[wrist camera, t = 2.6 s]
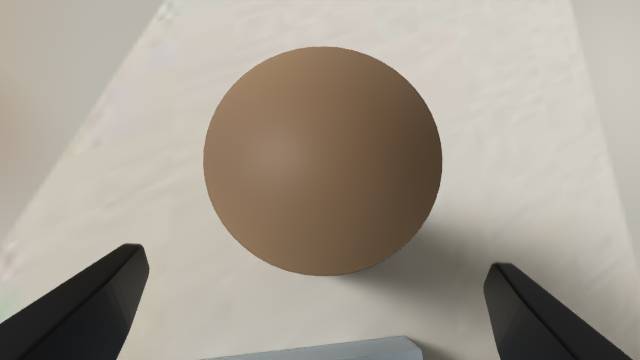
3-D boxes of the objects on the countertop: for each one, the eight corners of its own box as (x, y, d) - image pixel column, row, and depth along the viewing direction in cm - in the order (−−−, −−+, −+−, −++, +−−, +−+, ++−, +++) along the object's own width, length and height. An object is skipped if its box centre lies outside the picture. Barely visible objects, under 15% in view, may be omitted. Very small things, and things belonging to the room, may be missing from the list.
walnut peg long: (363, 264, 19) (462, 261, 6) (283, 273, 18) (207, 290, 6) (353, 186, 19) (420, 36, 7) (276, 194, 19) (199, 57, 7)
